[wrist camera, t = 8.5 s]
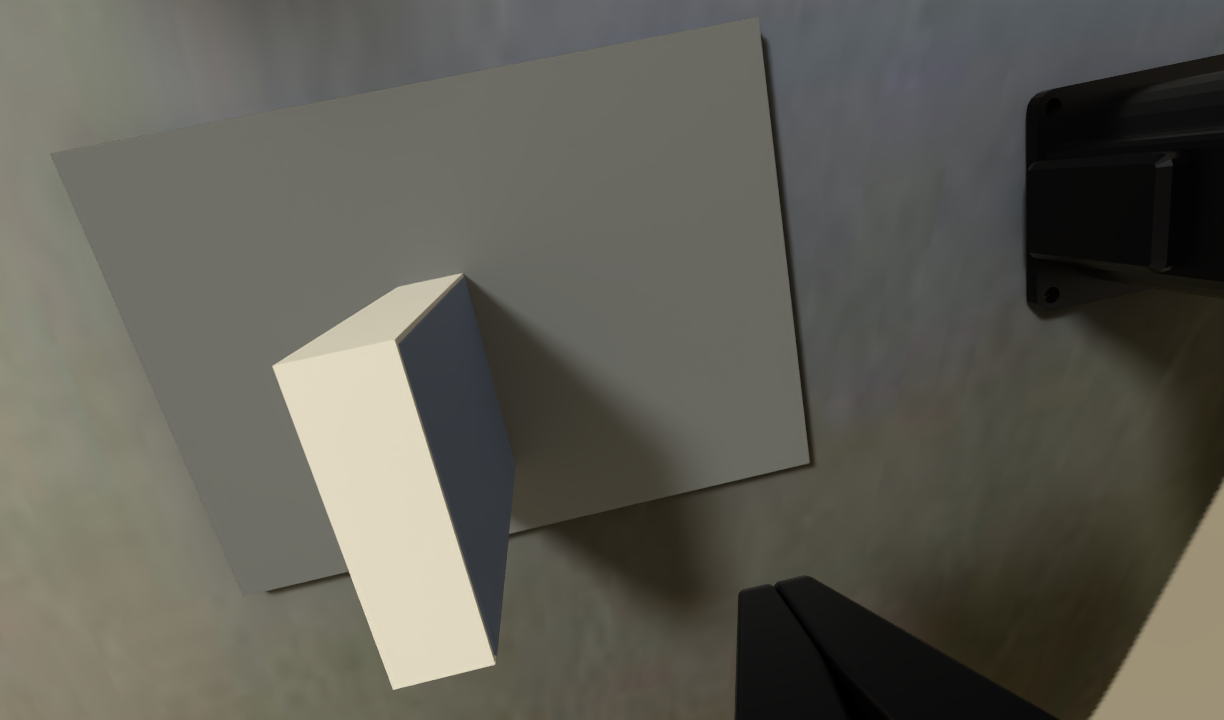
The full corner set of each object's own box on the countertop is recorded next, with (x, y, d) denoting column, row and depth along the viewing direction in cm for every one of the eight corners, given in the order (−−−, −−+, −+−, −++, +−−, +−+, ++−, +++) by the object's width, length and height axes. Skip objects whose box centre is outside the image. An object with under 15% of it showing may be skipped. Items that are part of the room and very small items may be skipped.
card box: (516, 467, 18) (498, 663, 11) (456, 481, 18) (393, 689, 11) (464, 272, 17) (397, 339, 9) (397, 287, 17) (272, 366, 9)
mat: (750, 23, 16) (758, 16, 16) (801, 455, 20) (809, 463, 19) (68, 155, 15) (50, 153, 15) (252, 584, 19) (243, 596, 18)
